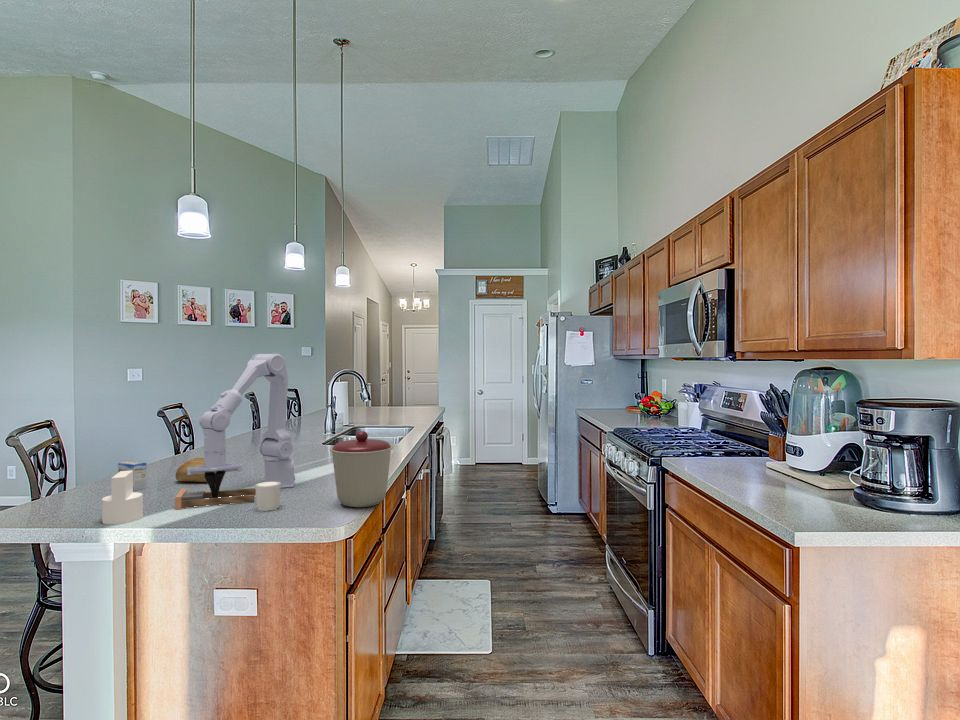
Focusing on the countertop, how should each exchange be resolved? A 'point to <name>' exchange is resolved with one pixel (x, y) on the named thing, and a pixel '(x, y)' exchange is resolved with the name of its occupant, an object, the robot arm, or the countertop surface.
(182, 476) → the bread roll
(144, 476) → the medicine box
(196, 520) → the countertop surface
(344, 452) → the canister
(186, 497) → the block
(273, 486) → the white cylinder
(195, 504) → the rail lane
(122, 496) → the base with upright slab
